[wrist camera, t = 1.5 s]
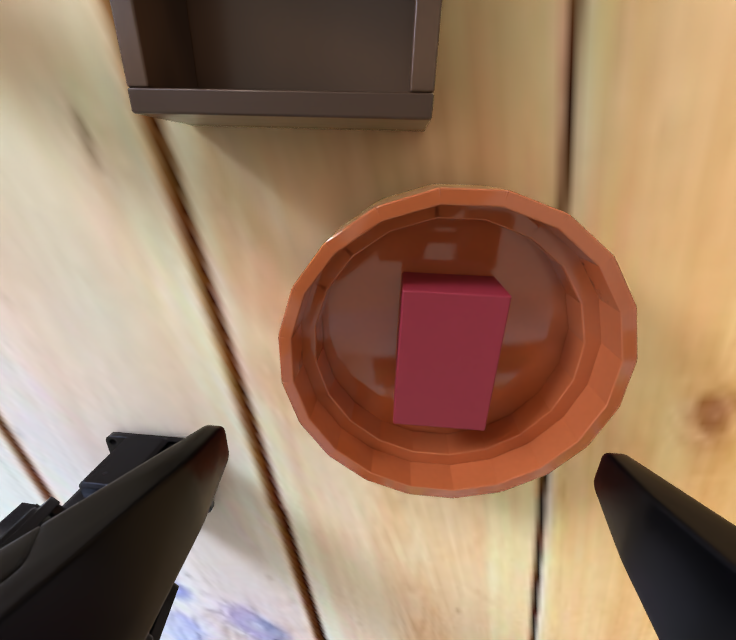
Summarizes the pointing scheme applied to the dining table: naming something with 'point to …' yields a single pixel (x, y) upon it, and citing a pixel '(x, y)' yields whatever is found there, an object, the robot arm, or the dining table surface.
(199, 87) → the holder
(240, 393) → the dining table surface
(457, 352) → the dark red block
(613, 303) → the bowl
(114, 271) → the dining table surface
